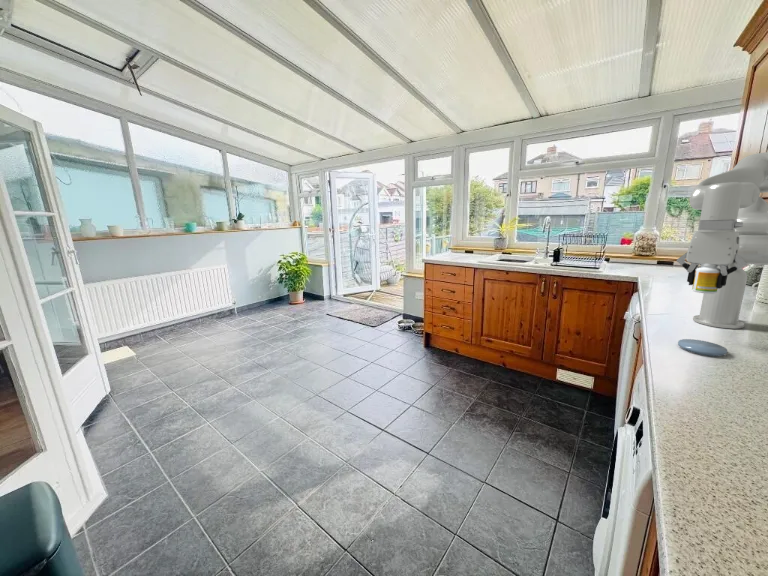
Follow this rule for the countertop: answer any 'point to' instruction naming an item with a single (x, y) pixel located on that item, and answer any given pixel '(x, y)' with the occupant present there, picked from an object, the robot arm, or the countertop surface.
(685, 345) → the pale blue round plate
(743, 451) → the countertop surface
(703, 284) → the supplement bottle
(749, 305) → the countertop surface
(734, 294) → the robot arm
